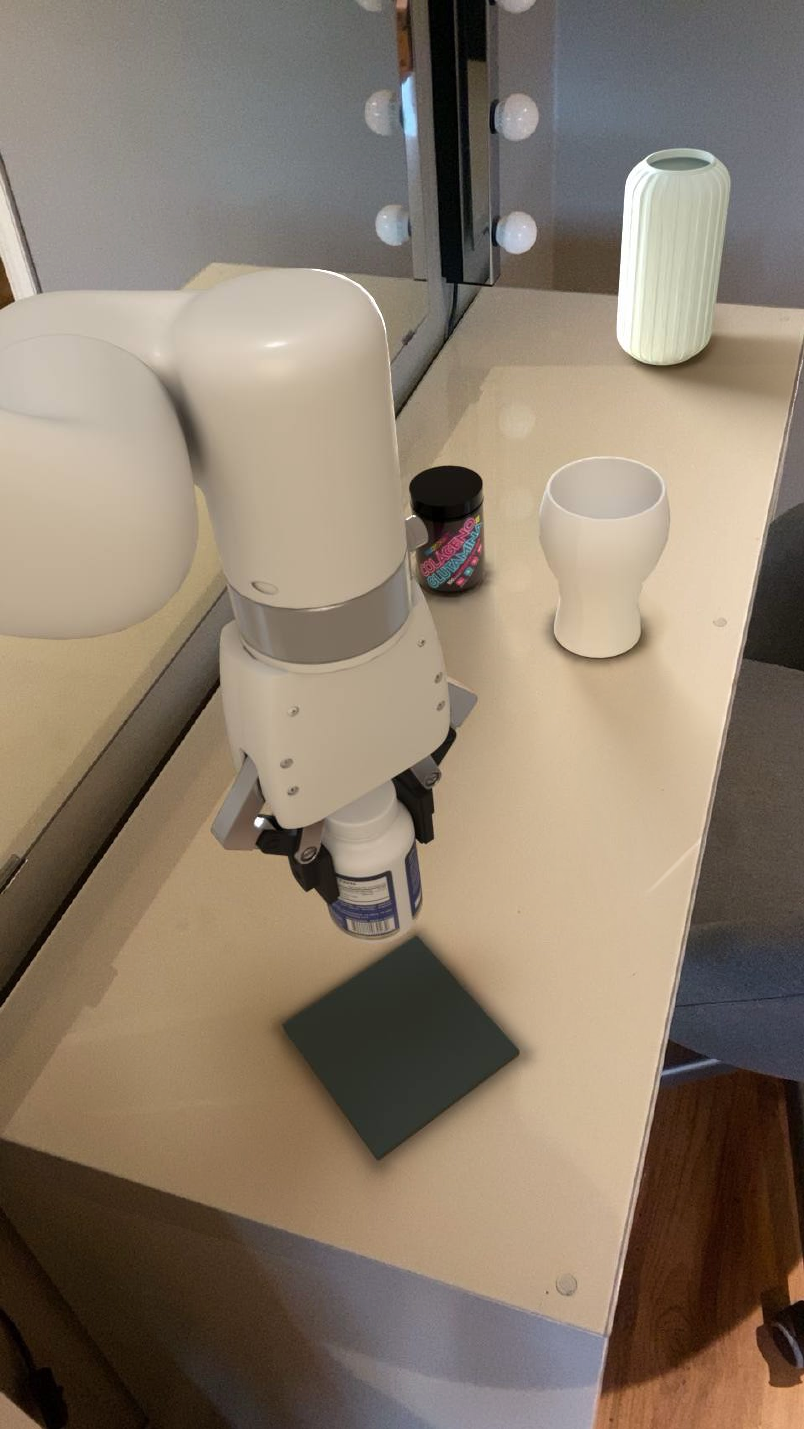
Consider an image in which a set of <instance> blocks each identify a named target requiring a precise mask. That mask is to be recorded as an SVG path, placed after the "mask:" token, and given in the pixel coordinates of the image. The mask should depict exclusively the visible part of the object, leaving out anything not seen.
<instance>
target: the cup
mask: <svg viewBox="0 0 804 1429" xmlns="http://www.w3.org/2000/svg"><path fill="white" fill-rule="evenodd" d="M661 475H662V474H660V473H658V471H656V469H654V468H653V467H651V466H650V465H647V464H645V463H643V462H642V461H638V460H634V459H631V458H628V457H620V456H613V455H611V456H609V455H605V456H601V455H599V456H591V457H584V458H581V459H578V460H574V461H571V462H569V463H567V464H565V465H563V466H561V467H559V468H558V469H557V470H556V471H555V472H553V473H552V474H551V476H550V478H549V479H548V481H547V483H546V485H545V490H544V492H543V496H542V499H541V503H540V507H539V515H538V539H539V544H540V546H541V548H542V551H543V554H544V558H545V560H546V563H547V566H548V568H549V569H550V571H551V573H552V574H553V576H554V577H555V580H557V585H558V586H557V587H558V593H559V600H558V604H557V609H556V612H555V618H554V624H553V634H554V636H555V639H556V640H557V642H558V643H559V644H560V646H562V647H563V648H564V649H566V650H567V651H569V652H571V653H573V654H576V655H578V656H581V657H587V658H592V659H593V658H595V659H604V658H610V657H612V658H613V657H616V656H618V655H621V654H624V653H627V651H629V650H631V649H632V648H634V646H635V645H636V644H637V643H638V642H639V639H640V637H641V635H642V632H641V631H642V630H641V613H640V604H639V599H640V595H641V593H642V592H641V591H642V589H643V585H644V583H645V582H646V580H647V579H648V578H649V577H650V575H651V574H652V573H653V572H654V571H655V569H656V567H657V565H658V563H659V561H660V559H661V556H662V554H663V552H664V550H665V548H666V545H667V543H668V541H669V534H670V527H671V507H670V501H669V495H668V490H667V486H666V482H665V480H664V479H663V477H662V476H661Z"/></svg>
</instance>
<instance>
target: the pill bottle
mask: <svg viewBox="0 0 804 1429" xmlns="http://www.w3.org/2000/svg"><path fill="white" fill-rule="evenodd" d="M321 843H322V844H323V845H324V846H325V847H326V848H327V849H328V851H329V852H330V854H331V856H332V859H333V864H334V869H335V874H336V879H337V883H338V888H339V893H340V896H339V897H338V901H336V902H335V903H333V904H331V905H328V904H327V903H326V907H327V910H328V914H329V916H330V920H331V921H332V923H333V925H334V926H335V928H336V929H337V930H338V931H339V932H340V933H341V934H342V935H343V936H344V937H346V938H348V939H349V940H352V941H355V942H356V943H361V944H365V945H366V944H367V945H379V944H380V945H381V944H385V943H389V942H392V941H394V940H396V939H398V938H400V937H402V936H403V935H404V934H406V933H408V931H410V930H411V928H412V927H413V926H414V925H415V924H416V922H417V921H418V919H419V917H420V914H421V912H422V908H423V901H424V900H423V886H422V878H421V871H420V870H421V869H420V862H419V855H418V848H417V847H418V846H417V839H416V837H415V830H414V825H413V821H412V817H411V815H410V813H409V811H408V809H407V808H406V806H405V805H404V804H403V803H402V802H401V801H400V800H398V799H397V797H396V791H395V786H394V784H393V782H392V781H391V779H390V780H388V781H386V782H385V783H383V784H382V785H380V786H378V787H377V788H375V789H373V790H371V791H370V792H368V793H366V794H365V795H363V796H361V797H360V798H358V799H356V800H355V801H353V802H351V803H349V804H348V805H346V806H344V807H343V808H341V809H339V810H337V811H336V812H334V813H332V814H330V815H329V816H327V817H326V818H325V824H324V829H323V834H322V840H321Z"/></svg>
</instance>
